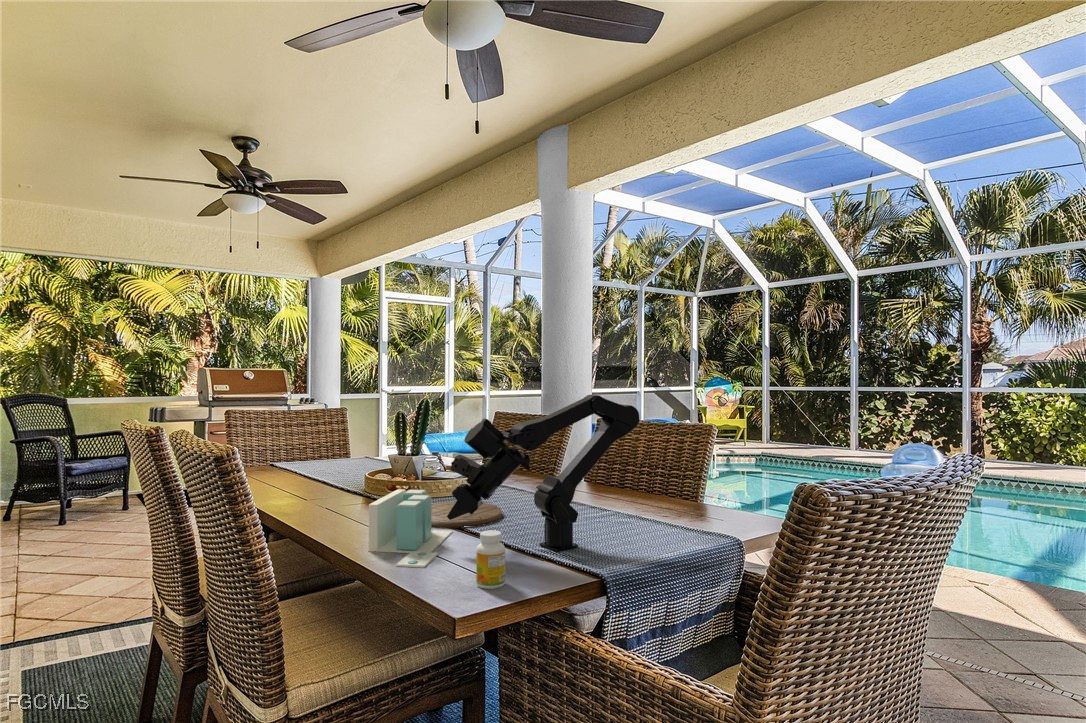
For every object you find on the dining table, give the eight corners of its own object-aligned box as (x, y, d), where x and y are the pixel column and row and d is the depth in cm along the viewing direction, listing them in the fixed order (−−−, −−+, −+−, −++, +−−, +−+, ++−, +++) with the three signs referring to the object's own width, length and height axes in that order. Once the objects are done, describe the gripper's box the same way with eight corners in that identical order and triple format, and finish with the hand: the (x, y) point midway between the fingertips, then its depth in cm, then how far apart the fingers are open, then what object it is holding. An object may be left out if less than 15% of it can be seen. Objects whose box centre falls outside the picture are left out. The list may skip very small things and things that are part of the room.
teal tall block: (422, 544, 145) (422, 501, 145) (416, 549, 141) (416, 505, 141) (403, 543, 146) (403, 500, 146) (396, 549, 141) (396, 504, 142)
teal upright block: (431, 536, 152) (431, 495, 152) (425, 541, 147) (425, 499, 147) (413, 536, 152) (413, 494, 152) (406, 541, 148) (406, 498, 148)
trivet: (518, 513, 180) (518, 506, 180) (467, 534, 158) (467, 526, 158) (445, 504, 192) (445, 498, 192) (389, 522, 170) (389, 515, 170)
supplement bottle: (473, 581, 122) (473, 530, 122) (500, 578, 124) (500, 528, 124) (480, 591, 117) (480, 537, 117) (508, 587, 119) (508, 535, 119)
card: (437, 554, 139) (437, 552, 139) (424, 567, 130) (424, 564, 130) (411, 553, 140) (411, 551, 140) (396, 566, 131) (396, 563, 131)
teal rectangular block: (426, 529, 159) (426, 489, 159) (421, 534, 154) (421, 493, 154) (409, 528, 159) (409, 489, 159) (403, 533, 155) (403, 492, 155)
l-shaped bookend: (452, 532, 158) (452, 490, 158) (429, 553, 140) (429, 506, 140) (398, 530, 160) (398, 489, 160) (368, 551, 142) (368, 504, 142)
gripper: (482, 438, 151) (436, 484, 152) (461, 448, 132) (410, 500, 134) (514, 472, 150) (468, 518, 151) (499, 487, 131) (446, 539, 133)
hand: (448, 518), depth 142 cm, fingers closed
